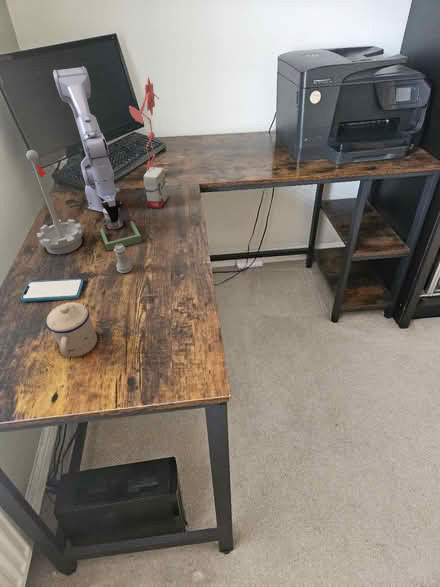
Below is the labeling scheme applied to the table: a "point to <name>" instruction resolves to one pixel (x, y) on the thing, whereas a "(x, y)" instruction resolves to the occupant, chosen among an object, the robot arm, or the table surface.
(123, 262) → the rook chess piece
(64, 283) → the smartphone
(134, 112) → the figurine
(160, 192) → the ink box
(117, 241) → the holder
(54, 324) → the teacup with lid
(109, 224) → the pill bottle
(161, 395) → the table surface
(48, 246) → the flag stand
